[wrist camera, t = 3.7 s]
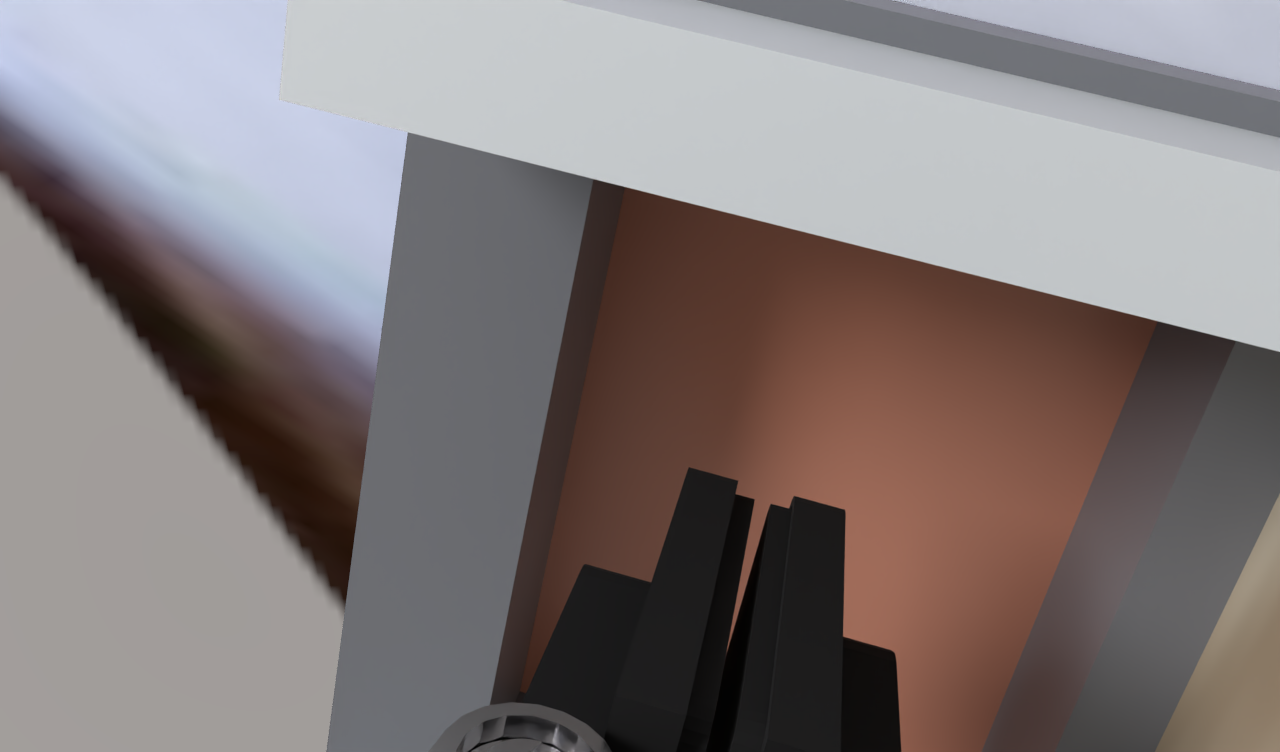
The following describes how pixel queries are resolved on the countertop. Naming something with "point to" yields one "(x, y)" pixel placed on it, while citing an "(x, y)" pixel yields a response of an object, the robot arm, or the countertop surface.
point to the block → (1238, 665)
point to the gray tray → (809, 342)
